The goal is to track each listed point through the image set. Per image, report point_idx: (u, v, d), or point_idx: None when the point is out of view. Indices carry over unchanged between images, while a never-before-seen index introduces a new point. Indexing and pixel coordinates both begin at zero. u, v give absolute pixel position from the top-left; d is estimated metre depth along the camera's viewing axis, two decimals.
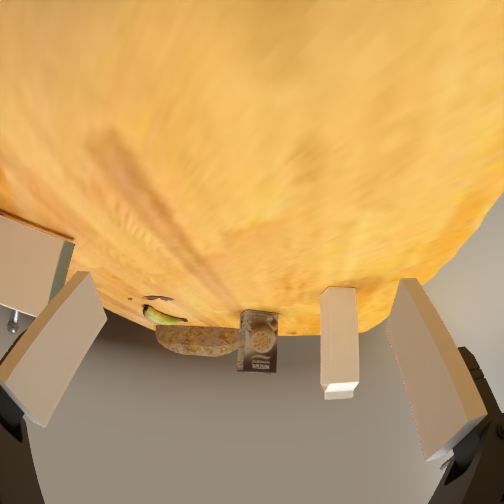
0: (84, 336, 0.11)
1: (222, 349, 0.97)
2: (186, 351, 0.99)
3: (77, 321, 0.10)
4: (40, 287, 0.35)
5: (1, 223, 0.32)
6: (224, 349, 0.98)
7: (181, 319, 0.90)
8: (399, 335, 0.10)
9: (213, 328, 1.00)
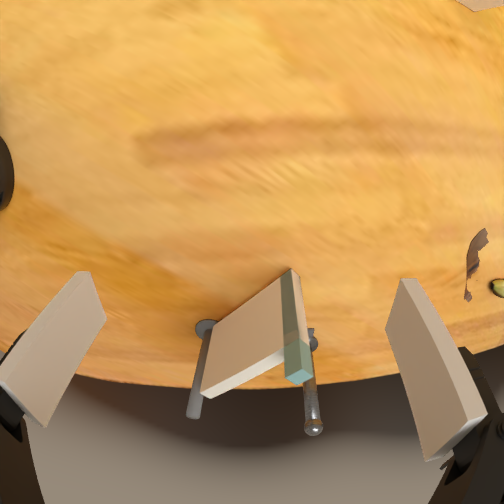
0: (84, 336, 0.11)
1: None
2: None
3: (77, 321, 0.10)
4: (270, 326, 0.33)
5: (221, 324, 0.44)
6: None
7: None
8: (399, 335, 0.10)
9: None
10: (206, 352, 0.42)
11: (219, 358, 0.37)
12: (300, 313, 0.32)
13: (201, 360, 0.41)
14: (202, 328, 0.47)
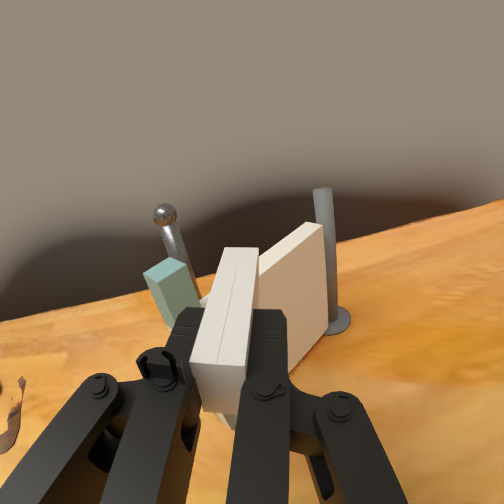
0: None
1: None
2: None
3: None
4: None
5: (317, 331, 0.30)
6: None
7: None
8: None
9: None
10: (328, 288, 0.31)
11: (308, 282, 0.26)
12: None
13: (332, 275, 0.30)
14: (341, 320, 0.34)
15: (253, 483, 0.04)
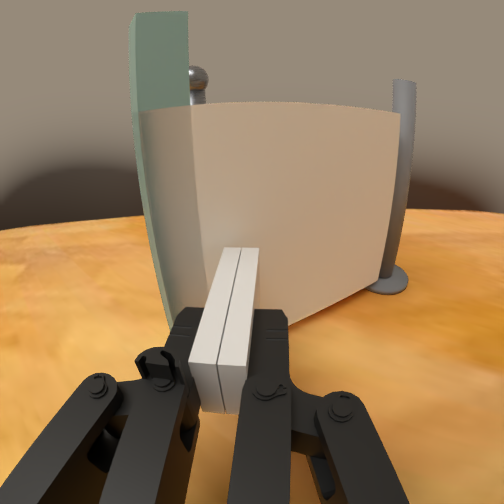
0: None
1: None
2: None
3: None
4: (237, 204, 0.13)
5: (363, 275, 0.20)
6: None
7: None
8: None
9: None
10: (391, 221, 0.21)
11: (369, 179, 0.17)
12: (148, 218, 0.12)
13: (400, 201, 0.20)
14: (396, 279, 0.23)
15: (254, 483, 0.04)
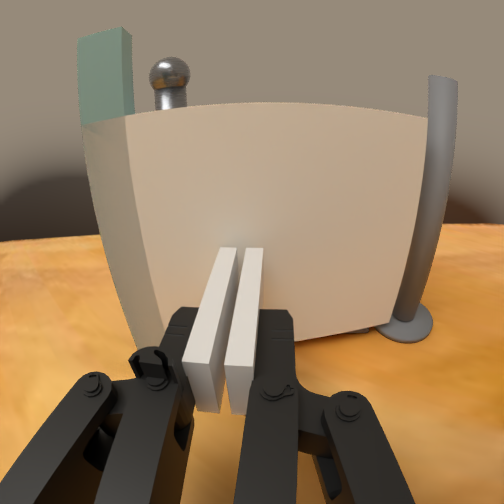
0: (233, 312, 0.12)
1: None
2: None
3: (232, 296, 0.12)
4: (178, 212, 0.12)
5: (365, 314, 0.17)
6: None
7: None
8: None
9: None
10: (416, 255, 0.16)
11: (372, 199, 0.13)
12: None
13: (429, 233, 0.15)
14: (419, 321, 0.18)
15: (261, 483, 0.04)
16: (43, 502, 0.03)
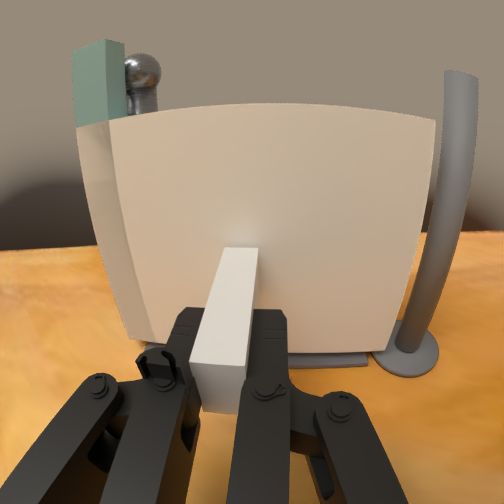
0: None
1: None
2: None
3: None
4: (155, 210, 0.13)
5: (355, 337, 0.15)
6: None
7: None
8: None
9: None
10: (421, 281, 0.14)
11: (361, 211, 0.12)
12: None
13: (437, 257, 0.13)
14: (424, 351, 0.16)
15: (253, 483, 0.04)
16: None
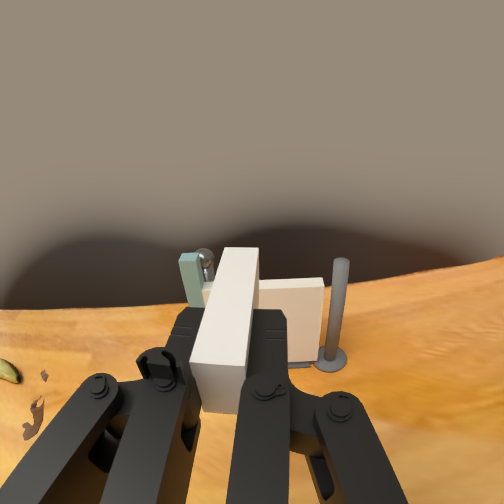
0: None
1: None
2: None
3: None
4: None
5: (302, 355, 0.38)
6: None
7: None
8: None
9: None
10: (328, 334, 0.37)
11: (296, 316, 0.35)
12: None
13: (332, 327, 0.35)
14: (338, 361, 0.39)
15: (253, 483, 0.04)
16: None
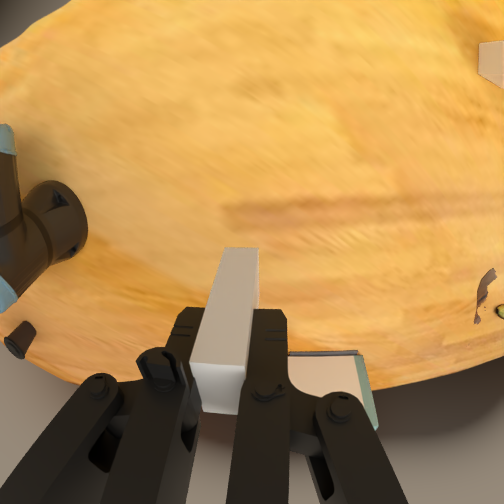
0: None
1: None
2: None
3: None
4: (351, 389, 0.47)
5: (296, 361, 0.54)
6: None
7: None
8: None
9: None
10: None
11: (302, 391, 0.47)
12: None
13: None
14: None
15: (253, 483, 0.04)
16: None
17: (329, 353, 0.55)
